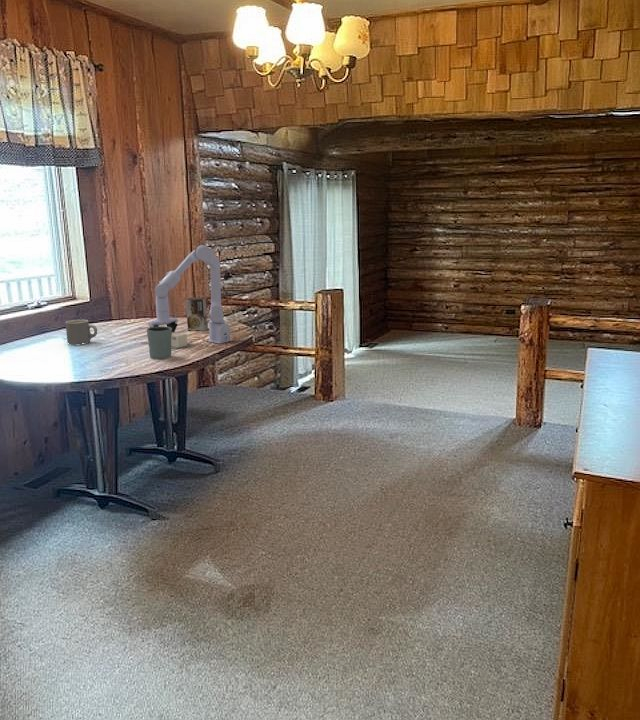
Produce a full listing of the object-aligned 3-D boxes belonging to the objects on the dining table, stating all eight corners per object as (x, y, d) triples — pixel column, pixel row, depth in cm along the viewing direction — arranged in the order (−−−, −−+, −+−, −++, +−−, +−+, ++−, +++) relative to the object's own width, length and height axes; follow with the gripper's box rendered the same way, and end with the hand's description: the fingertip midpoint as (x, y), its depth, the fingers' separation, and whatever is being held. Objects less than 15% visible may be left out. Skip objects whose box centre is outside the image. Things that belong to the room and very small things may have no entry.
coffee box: (208, 328, 326) (206, 297, 322) (204, 331, 319) (203, 299, 316) (191, 328, 326) (189, 297, 323) (187, 331, 320) (185, 299, 317)
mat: (193, 345, 286) (193, 344, 286) (174, 349, 277) (174, 348, 277) (160, 339, 300) (160, 338, 300) (141, 343, 292) (140, 342, 292)
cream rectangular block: (187, 345, 284) (186, 334, 283) (178, 347, 280) (177, 336, 279) (173, 342, 290) (172, 331, 289) (164, 344, 286) (163, 333, 285)
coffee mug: (63, 345, 290) (61, 323, 288) (73, 340, 299) (71, 319, 297) (92, 345, 289) (90, 323, 287) (101, 340, 299) (99, 319, 296)
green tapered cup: (152, 354, 269) (150, 326, 266) (176, 354, 268) (174, 326, 266) (145, 359, 259) (143, 330, 256) (170, 359, 259) (168, 330, 256)
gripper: (170, 307, 294) (172, 336, 297) (143, 312, 283) (146, 341, 286) (179, 309, 290) (181, 338, 293) (153, 313, 279) (156, 343, 282)
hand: (164, 340), depth 289 cm, fingers open, 7 cm apart
